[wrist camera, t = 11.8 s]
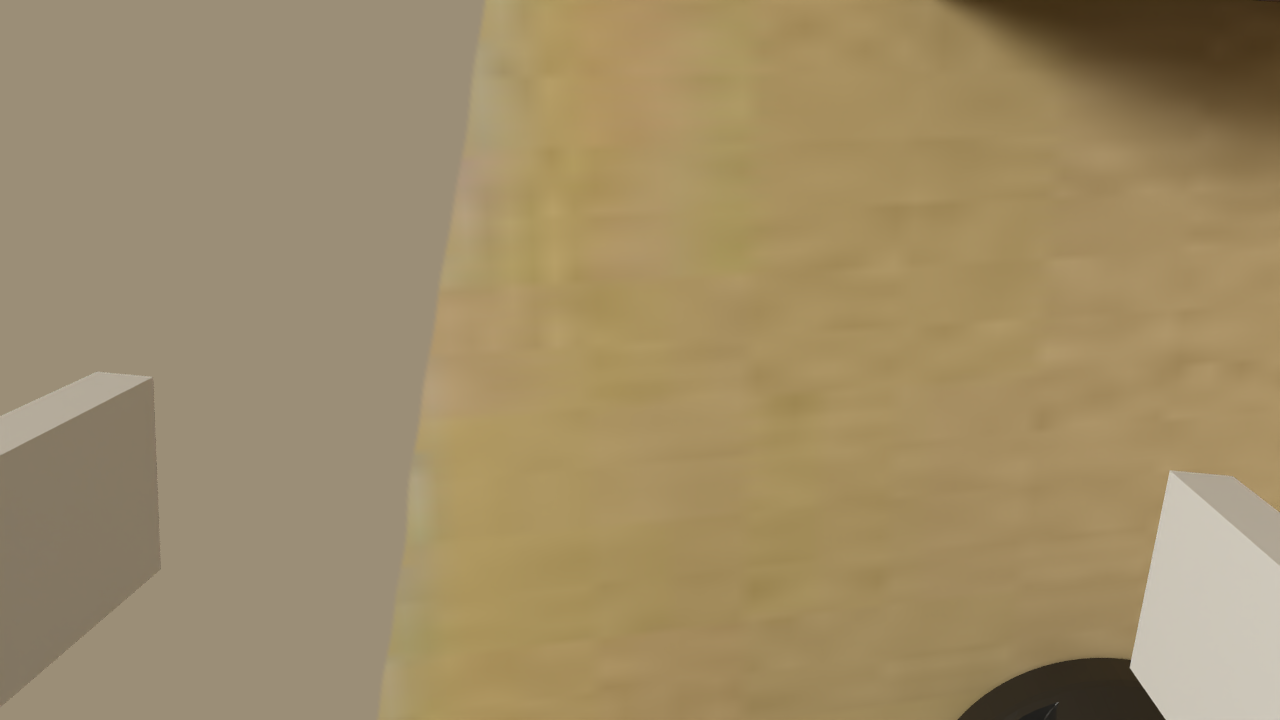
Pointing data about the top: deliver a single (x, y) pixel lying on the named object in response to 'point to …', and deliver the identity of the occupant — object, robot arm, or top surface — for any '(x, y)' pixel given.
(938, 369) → the top surface
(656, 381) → the top surface
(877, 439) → the top surface
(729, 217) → the top surface
